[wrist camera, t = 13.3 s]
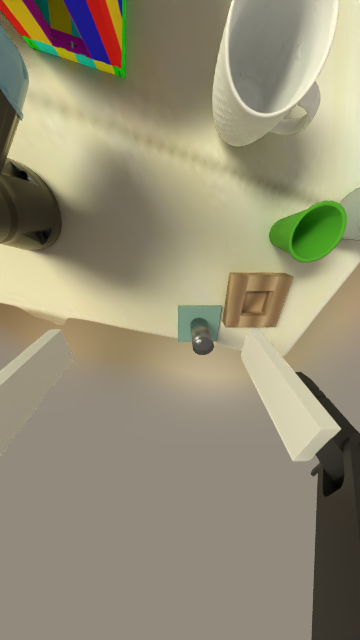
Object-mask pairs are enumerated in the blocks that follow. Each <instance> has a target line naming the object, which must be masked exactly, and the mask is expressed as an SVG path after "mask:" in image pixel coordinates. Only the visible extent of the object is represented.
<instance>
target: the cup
mask: <svg viewBox="0 0 360 640" xmlns="http://www.w3.org/2000/svg"><path fill="white" fill-rule="evenodd" d="M346 225H347V215H346V211H345V209H344V208H343V207H342V206H341V205H340V204H339V203H337V202H334V201H323V202H319V203H317V204H315V205H313V206H311V207H310V208H308V209H307V210H304V211H301V212H299V213H296V214H294V215H291V216H288V217H286V218H283V219H281V220H279V221H277V222H276V223H275V224H274V225H273V226H272V228H271V230H270V234H269V237H270V241H271V242H272V243H273V244H274V245H276V246H277V247H279V248H281V249H283V250H284V251H286V252H288V253H289V254H291V255H292V257H293V258H294V259H296V260H297V261H300V262H312V261H316V260H318V259H320V258H323V257H324V256H326V255H327V254H328V253H330V252H331V251H332V250H333V249H334V248H335V247H336V245H337V244H338V243H339V242H340V240H341V238H342V236H343V235H344V232H345V229H346Z"/></svg>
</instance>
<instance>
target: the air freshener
mask: <svg viewBox="0 0 360 640" xmlns="http://www.w3.org/2000/svg"><path fill="white" fill-rule="evenodd" d="M340 205H341V206H342V207H343V208H344V209H345V211H346V215H347V225H346V229H345V232H344V235H343V236H342V238H341V239H351V240H360V188H357V189H355V190H353V191H352V192H351V193H349V194H348V195H347V196H346V197H345V198H344V199H343V200H342V201H341V202H340Z"/></svg>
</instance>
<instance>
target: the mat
mask: <svg viewBox="0 0 360 640" xmlns="http://www.w3.org/2000/svg"><path fill="white" fill-rule="evenodd" d="M221 308H222V306H178V341H179V342H188V341H189V342H190V341H191V342H192V337H191V329H190V323H191V321H192V320H193V319H195V318H203V319H205V320H206V322H207V325H208V328H209V331H210V335H211V338H212V341H217V335H218V328H219V321H220V315H221Z"/></svg>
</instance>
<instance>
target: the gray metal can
mask: <svg viewBox="0 0 360 640" xmlns="http://www.w3.org/2000/svg"><path fill="white" fill-rule="evenodd" d="M190 329H191V337H192V344H193V350H194V352H195V353H197V354H199V355H206V354H208V353H210V352H211V351H212V350H213V348H214V344H213V341H212V338H211V335H210V331H209V328H208V325H207V322H206V320H205V319H203V318H195V319H193V320H192V321H191V323H190Z"/></svg>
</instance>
